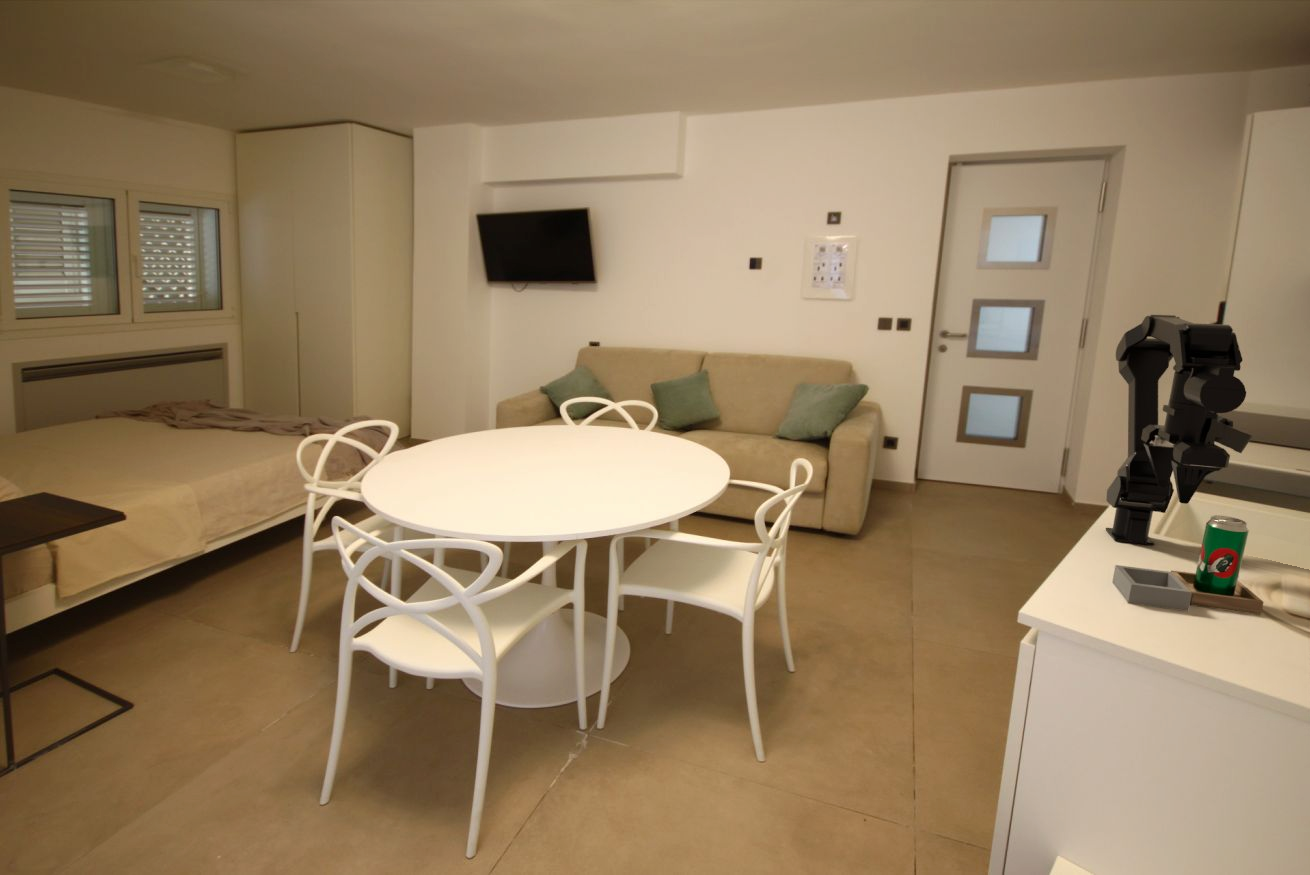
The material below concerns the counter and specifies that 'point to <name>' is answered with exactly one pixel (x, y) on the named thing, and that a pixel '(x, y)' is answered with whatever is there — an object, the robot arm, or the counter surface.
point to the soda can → (1221, 555)
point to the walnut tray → (1222, 597)
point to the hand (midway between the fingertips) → (1172, 495)
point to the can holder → (1151, 587)
